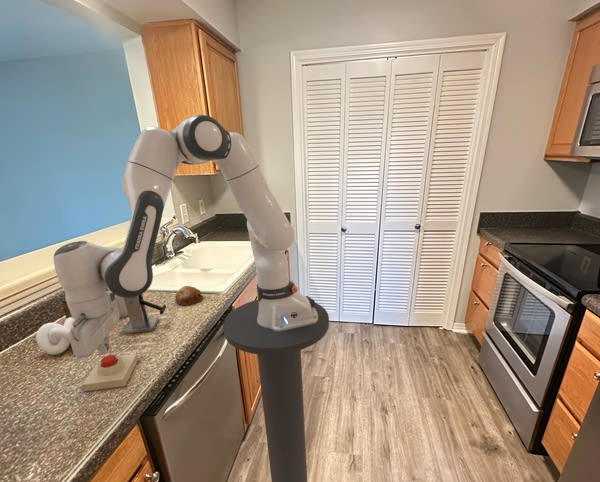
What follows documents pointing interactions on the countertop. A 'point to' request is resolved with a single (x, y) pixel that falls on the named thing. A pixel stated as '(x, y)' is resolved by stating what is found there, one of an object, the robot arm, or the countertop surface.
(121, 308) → the salt shaker
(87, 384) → the button block
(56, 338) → the white knot
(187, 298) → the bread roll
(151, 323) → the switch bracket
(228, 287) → the countertop surface
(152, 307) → the switch
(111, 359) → the button
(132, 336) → the countertop surface
